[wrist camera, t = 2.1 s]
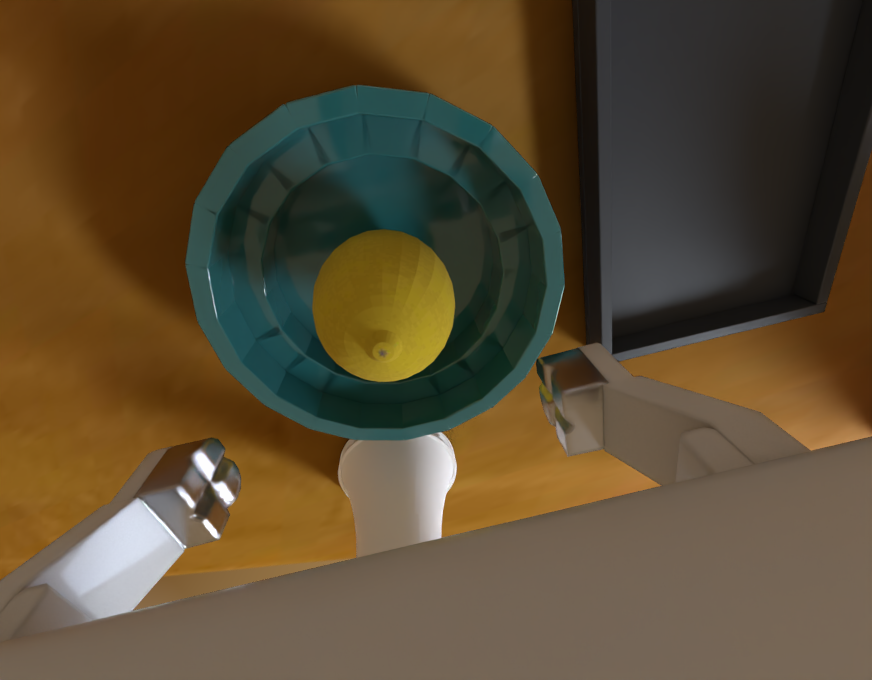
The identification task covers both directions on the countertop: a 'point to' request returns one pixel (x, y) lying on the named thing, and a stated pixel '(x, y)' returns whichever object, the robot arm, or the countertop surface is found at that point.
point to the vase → (396, 489)
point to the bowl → (364, 211)
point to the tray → (716, 162)
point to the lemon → (383, 305)
